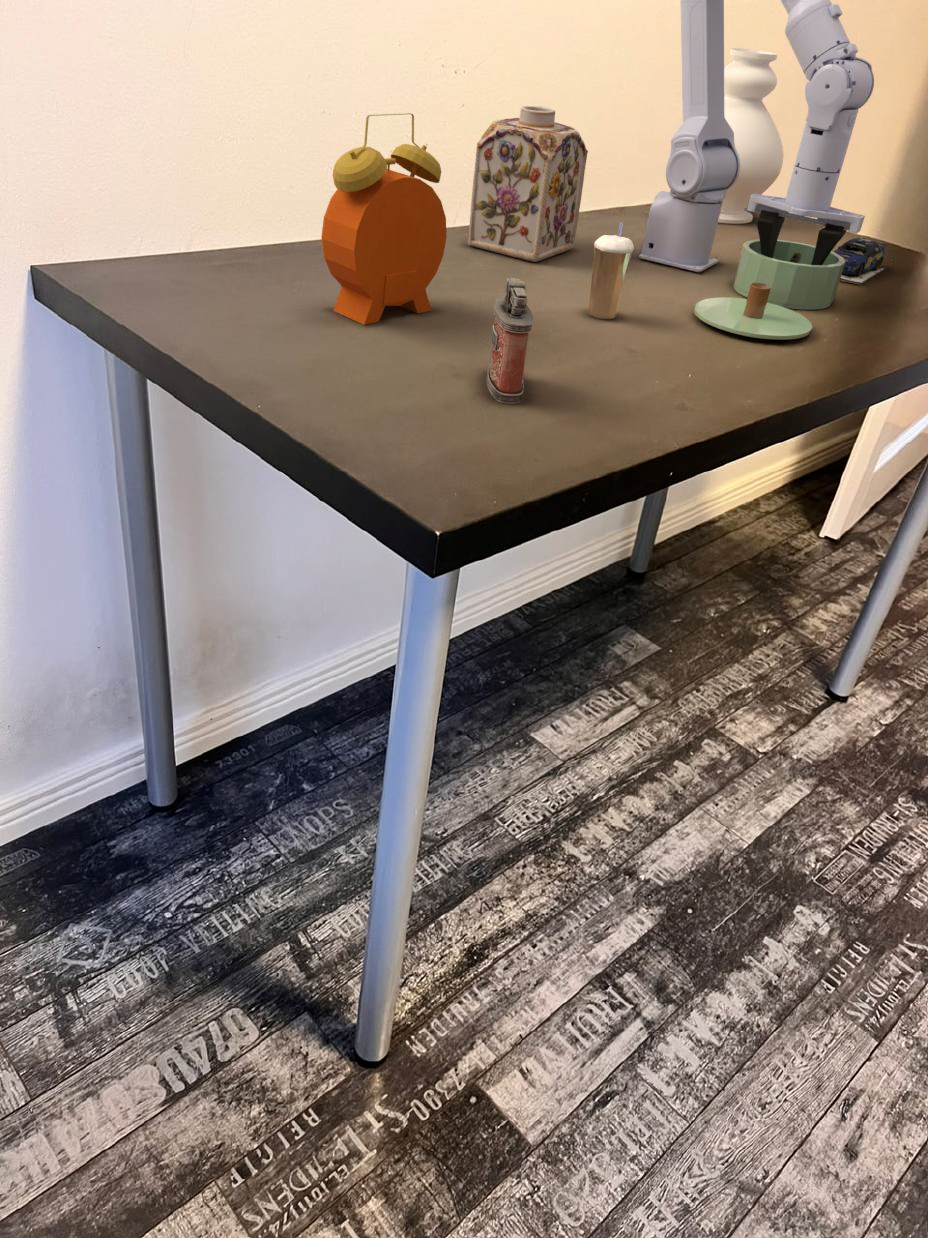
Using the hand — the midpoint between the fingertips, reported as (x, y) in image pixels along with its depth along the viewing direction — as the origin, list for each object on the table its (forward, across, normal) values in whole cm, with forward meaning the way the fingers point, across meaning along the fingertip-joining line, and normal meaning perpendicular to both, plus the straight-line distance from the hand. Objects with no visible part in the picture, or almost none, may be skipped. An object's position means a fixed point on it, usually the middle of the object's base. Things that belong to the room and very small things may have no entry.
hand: (786, 277), depth 128 cm
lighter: (+2, -11, -57) cm, 58 cm away
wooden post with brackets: (+2, 0, -1) cm, 2 cm away
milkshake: (+2, -14, -28) cm, 31 cm away
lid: (+2, +1, -17) cm, 17 cm away
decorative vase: (+2, -24, +41) cm, 48 cm away
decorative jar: (+2, -36, -9) cm, 37 cm away
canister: (+2, 0, 0) cm, 2 cm away
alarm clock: (+2, -33, -47) cm, 57 cm away
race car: (+2, +4, +22) cm, 22 cm away
